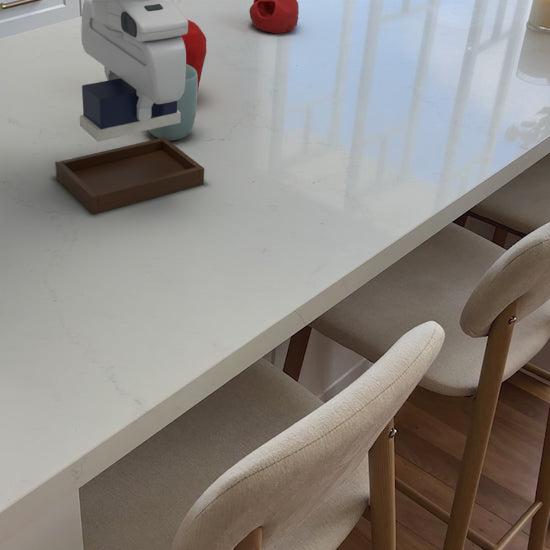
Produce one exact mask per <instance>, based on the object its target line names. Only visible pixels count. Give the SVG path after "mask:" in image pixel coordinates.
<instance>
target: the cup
mask: <svg viewBox="0 0 550 550" xmlns="http://www.w3.org/2000/svg"><path fill="white" fill-rule="evenodd" d="M197 86H198V76H197V71H196V70H195V69H194V68H193V67H191V66H190V65H187V64H186V77H185V89H184V93H183V95H182V96H181V98H180V99H179V100H177V110H178V111H179V112H180V113H181V119H180V123H177V124H173V125H168V126H164V127H159V128H155V129H151V130H148V132H149V133H150V134H151V135H152V136H153V137H155V138H156V139H159V138H163V137H164V138H166V139H167V140H168V141H170V142H171V141H177V140H181V139H184V138H185V137H187V136H188V135H189V134H190V133H191V131H192V130H193V127H194V124H195V121H196V116H197V106H198V92H197Z"/></svg>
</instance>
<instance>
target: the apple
mask: <svg viewBox="0 0 550 550" xmlns="http://www.w3.org/2000/svg"><path fill="white" fill-rule="evenodd" d="M187 20H188V32H187V34H185V35H181V37H182V39H183V41H184V44H185V49H186V64H187V65H190V66H191V67H193V68H194V69H195V70H196V71H197V76H198V86H197V93H198V91H199V87H200V83H201V77H202V74H203V73H202V72H203V67H204V65H205V64H204V63H205V60H206V56H207V37H206V35H205V33H204V32H203V31H202V29H201V28H200V26H199V25H198V24H197V23H195V22H194V21H193V20H190V19H188V18H187Z"/></svg>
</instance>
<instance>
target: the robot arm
mask: <svg viewBox="0 0 550 550" xmlns="http://www.w3.org/2000/svg"><path fill="white" fill-rule="evenodd" d="M81 9H82V10H81V28H80V29H81V35H80V36H81V45H82V48H83V50H84V52H85V53H86V54H87V55H88V56H90V57H91V58H93V60H95V61H97V62H98V63H99V64H101V65H102V66H103V67H104V68H103V69H104V74H105V77H106V81H108V80H114V79H119V78H121V79H123V80H124V81H125V82H127V83H128V84H130V85H131V86H132V87H134V88H135V89H136V90H137V96H138V97H139V99H138V102H137V104H135V105H133V108H134V116H135V117H136V118H137V119H138V120H139V121H146V120H149V119H150V118H151V107H152V105H153V103H156V104H164V103H169V102H173V101H177V100H179V99H180V98H181V96H182V95H183V93H184V89H185V77H186V49H185V44H184V41H183V39H182V37H181V35H185V34H187V32H188V20H189V19H188V17H187V16H186V15H185V13H184V12H183V11H182V10H181V8H180V7H179V6H178V5H177V3H176V1H175V0H84V2H83V4H82V8H81ZM187 19H188V20H187Z"/></svg>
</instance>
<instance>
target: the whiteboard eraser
mask: <svg viewBox="0 0 550 550" xmlns="http://www.w3.org/2000/svg"><path fill="white" fill-rule="evenodd" d="M81 95H82V114H80V115H79V126H80V127H81V129H83V130H84V131H85V132H86V133H87V134H88V135H90V136H91V137H92V138H93V139H94V140H96V141H97V142H102V141H106V140H110V139H115V138H119V137H125V136H128V135H133V134H137V133H140V132H146V131H149V130H151V129H155V128H159V127H164V126H168V125H173V124H177V123H180V119H181V113H180V112H179V111H178V110H177V101H173V102H169V103H164V104H156V103H153V105H152V107H151V118H150V119H149V120H146V121H139V120H138V119H137V118H136V117H135V116H134V108H133V105H135V104H137V102H138V99H139V97H138V96H137V90H136V89H135V88H134V87H132V86H131V85H130V84H128V83H127V82H125V81H124V80H123V79H121V78H119V79H114V80H108V81H107V80H104V81H103V80H102V81H98V82H92V83H88V84H83V85H81Z"/></svg>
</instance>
